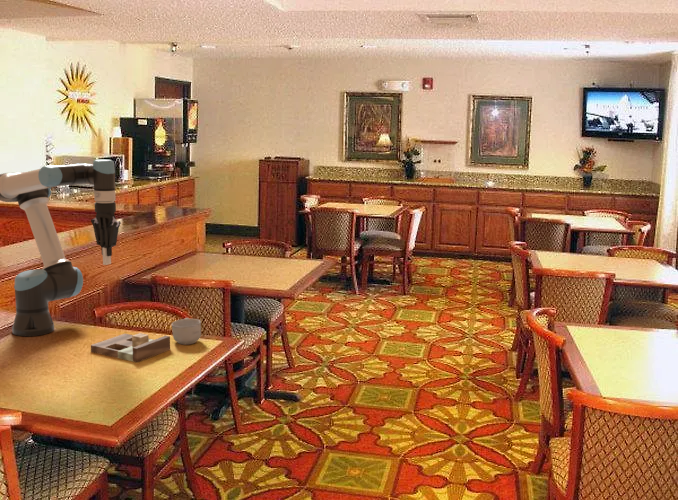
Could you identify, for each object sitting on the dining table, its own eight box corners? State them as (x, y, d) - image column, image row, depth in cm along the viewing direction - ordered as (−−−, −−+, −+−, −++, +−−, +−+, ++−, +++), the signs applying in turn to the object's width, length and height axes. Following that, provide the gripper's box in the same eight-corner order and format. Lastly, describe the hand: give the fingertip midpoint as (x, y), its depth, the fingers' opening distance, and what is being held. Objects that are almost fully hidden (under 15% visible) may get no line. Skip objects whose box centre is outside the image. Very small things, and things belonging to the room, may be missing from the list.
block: (132, 346, 270) (132, 335, 269) (140, 343, 273) (140, 333, 272) (140, 348, 268) (140, 337, 267) (148, 345, 271) (148, 334, 270)
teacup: (197, 347, 279) (197, 326, 277) (168, 346, 279) (168, 325, 278) (205, 336, 293) (205, 316, 291) (177, 335, 293) (177, 315, 291)
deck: (90, 351, 271) (90, 338, 270) (125, 339, 285) (124, 327, 284) (137, 362, 260) (136, 348, 260) (170, 349, 275) (169, 336, 274)
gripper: (84, 201, 279) (86, 263, 283) (110, 204, 273) (112, 268, 277) (99, 199, 285) (101, 260, 290) (125, 202, 279) (127, 264, 283)
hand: (107, 264), depth 283 cm, fingers closed
